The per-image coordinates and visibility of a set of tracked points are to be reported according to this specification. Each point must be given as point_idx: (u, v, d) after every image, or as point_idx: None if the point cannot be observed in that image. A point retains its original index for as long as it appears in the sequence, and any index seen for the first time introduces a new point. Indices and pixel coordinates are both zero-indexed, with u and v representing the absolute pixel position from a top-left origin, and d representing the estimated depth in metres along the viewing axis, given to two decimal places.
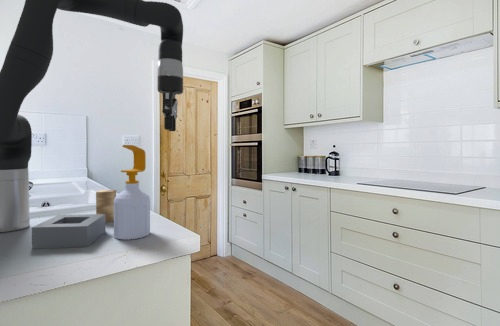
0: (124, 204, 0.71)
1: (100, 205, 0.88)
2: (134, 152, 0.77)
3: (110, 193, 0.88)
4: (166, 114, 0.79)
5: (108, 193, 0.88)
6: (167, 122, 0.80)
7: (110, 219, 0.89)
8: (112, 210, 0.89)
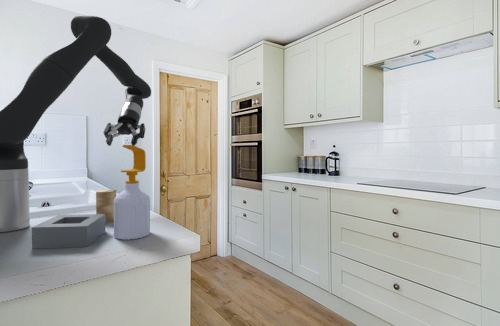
0: (124, 204, 0.71)
1: (100, 205, 0.88)
2: (134, 152, 0.77)
3: (110, 193, 0.88)
4: (139, 136, 1.05)
5: (108, 193, 0.88)
6: (136, 140, 1.04)
7: (110, 219, 0.89)
8: (112, 210, 0.89)
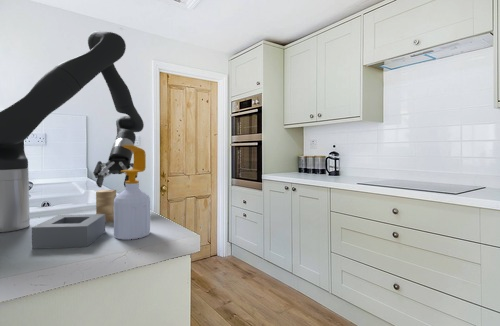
0: (124, 204, 0.71)
1: (100, 205, 0.88)
2: (134, 152, 0.77)
3: (110, 193, 0.88)
4: None
5: (108, 193, 0.88)
6: None
7: (110, 219, 0.89)
8: (112, 210, 0.89)
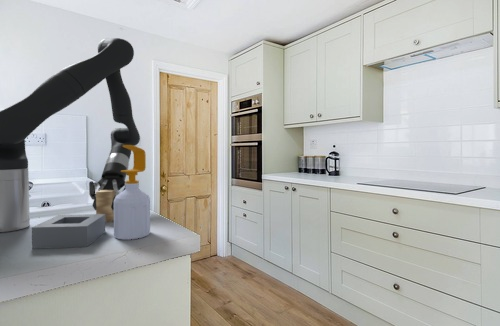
0: (124, 204, 0.71)
1: (100, 205, 0.88)
2: (134, 152, 0.77)
3: (110, 193, 0.88)
4: None
5: (108, 193, 0.88)
6: None
7: (110, 219, 0.89)
8: (112, 210, 0.89)
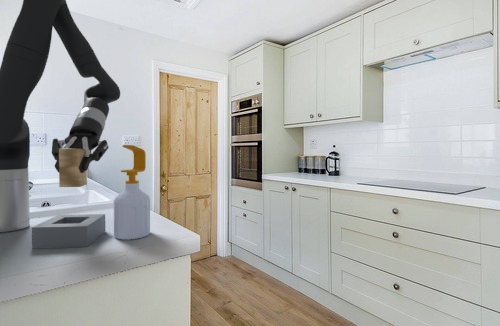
0: (124, 204, 0.71)
1: (65, 166, 0.69)
2: (134, 152, 0.77)
3: (77, 150, 0.70)
4: (92, 157, 0.73)
5: (75, 150, 0.70)
6: (87, 164, 0.72)
7: (77, 184, 0.70)
8: (80, 173, 0.71)
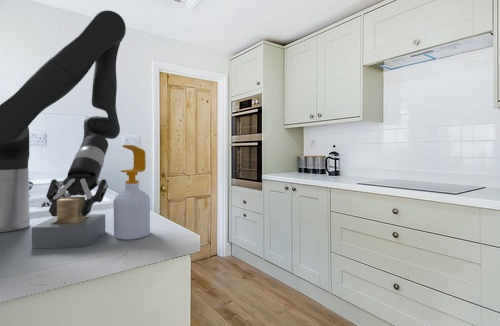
0: (124, 204, 0.71)
1: (63, 217, 0.69)
2: (134, 152, 0.77)
3: (75, 202, 0.69)
4: (95, 199, 0.73)
5: (73, 202, 0.69)
6: (89, 207, 0.72)
7: None
8: None
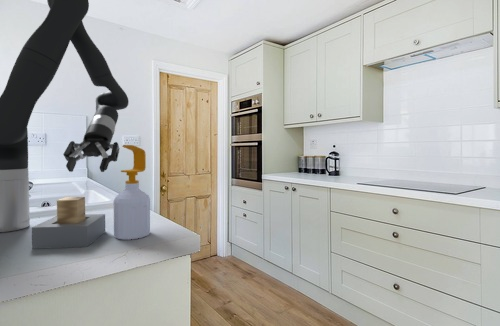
0: (124, 204, 0.71)
1: (63, 217, 0.69)
2: (134, 152, 0.77)
3: (75, 202, 0.69)
4: (111, 158, 0.83)
5: (73, 202, 0.69)
6: (106, 164, 0.81)
7: None
8: None
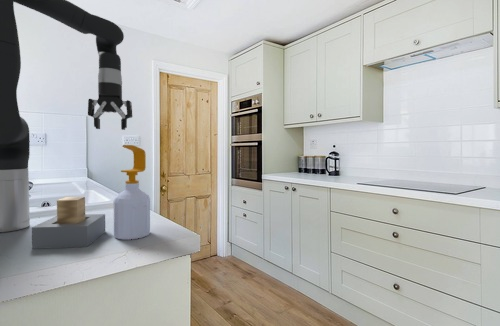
0: (124, 204, 0.71)
1: (63, 217, 0.69)
2: (134, 152, 0.77)
3: (75, 202, 0.69)
4: None
5: (73, 202, 0.69)
6: (125, 124, 1.00)
7: None
8: None
